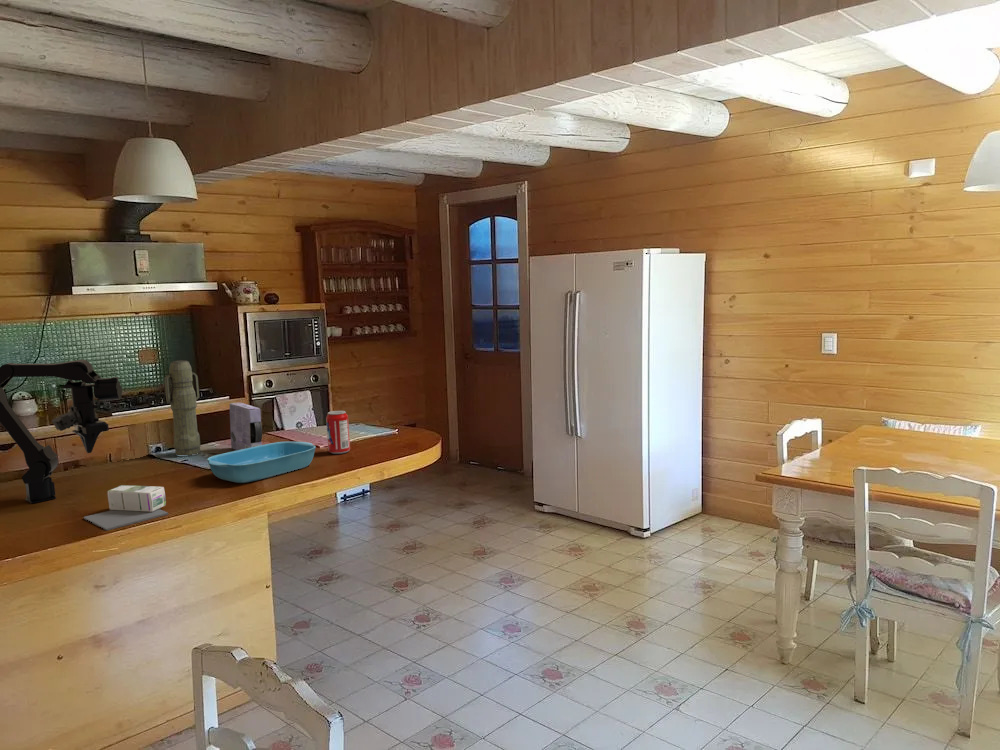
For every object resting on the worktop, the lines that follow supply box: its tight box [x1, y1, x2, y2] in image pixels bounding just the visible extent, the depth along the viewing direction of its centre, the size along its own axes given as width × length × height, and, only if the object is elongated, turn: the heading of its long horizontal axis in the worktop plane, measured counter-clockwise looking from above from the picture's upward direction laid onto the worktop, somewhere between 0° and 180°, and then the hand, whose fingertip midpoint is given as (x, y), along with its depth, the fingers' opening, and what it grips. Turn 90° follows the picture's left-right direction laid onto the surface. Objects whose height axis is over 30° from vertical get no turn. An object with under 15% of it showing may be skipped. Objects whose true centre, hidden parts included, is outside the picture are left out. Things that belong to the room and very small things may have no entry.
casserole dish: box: [206, 440, 317, 484], centre depth 244 cm, size 37×22×7 cm, turn 143°
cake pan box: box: [228, 402, 263, 451], centre depth 274 cm, size 19×5×18 cm, turn 42°
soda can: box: [325, 410, 351, 455], centre depth 267 cm, size 8×8×15 cm
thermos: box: [163, 359, 201, 455], centre depth 272 cm, size 9×12×35 cm
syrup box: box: [107, 484, 167, 512], centre depth 206 cm, size 6×6×14 cm
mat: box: [83, 508, 169, 531], centre depth 201 cm, size 16×16×1 cm
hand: (89, 452), depth 222 cm, fingers closed
